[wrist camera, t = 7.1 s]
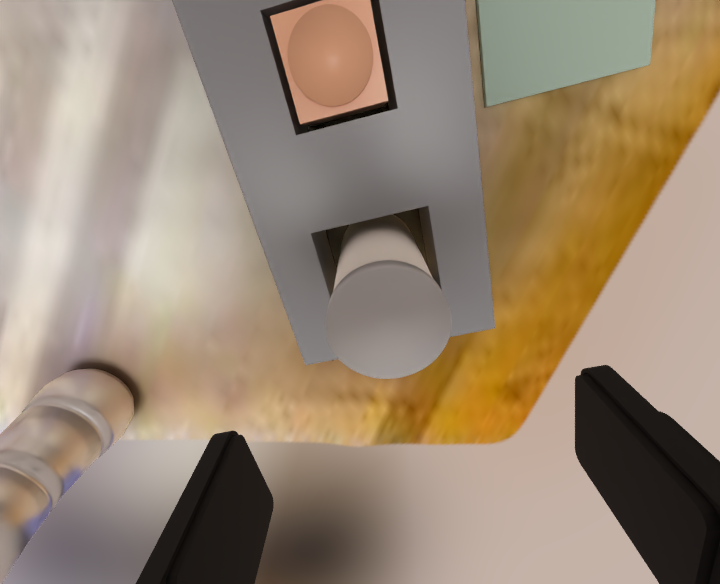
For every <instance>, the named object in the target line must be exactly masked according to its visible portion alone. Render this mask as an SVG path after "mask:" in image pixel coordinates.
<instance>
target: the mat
mask: <svg viewBox="0 0 720 584" xmlns="http://www.w3.org/2000/svg"><path fill="white" fill-rule="evenodd" d="M655 1H656V0H476V8H477V20H478V33H479V45H480V57H481V69H482V81H483V93H484V106H485V107H489V106H492V105H496V104H500V103H504V102H508V101H512V100H516V99H519V98H523V97H527V96H531V95H535V94H539V93H543V92H547V91H550V90H554V89H558V88H562V87H566V86H570V85H574V84H577V83H581V82H585V81H589V80H593V79H597V78H601V77H604V76H608V75H612V74H616V73H620V72H624V71H628V70H631V69H635V68H639V67H643V66H647V65H650V59H651V47H652V36H653V24H654V12H655Z"/></svg>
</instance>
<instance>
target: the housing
mask: <svg viewBox="0 0 720 584" xmlns="http://www.w3.org/2000/svg"><path fill="white" fill-rule="evenodd" d="M172 1H173V4H174V7H175V10H176V12H177V15H178V18H179V21H180V23H181V26H182V29H183V32H184V34H185V37H186V40H187V42H188V45H189V48H190V51H191V53H192V56H193V59H194V62H195V64H196V67H197V70H198V73H199V75H200V78H201V81H202V83H203V86H204V89H205V92H206V94H207V97H208V100H209V103H210V105H211V108H212V111H213V114H214V116H215V119H216V122H217V124H218V127H219V130H220V133H221V135H222V138H223V141H224V144H225V146H226V149H227V152H228V155H229V157H230V160H231V163H232V165H233V168H234V171H235V174H236V176H237V179H238V182H239V185H240V187H241V190H242V193H243V196H244V198H245V201H246V204H247V206H248V209H249V212H250V215H251V217H252V220H253V223H254V226H255V228H256V231H257V234H258V237H259V239H260V242H261V245H262V248H263V250H264V253H265V256H266V258H267V261H268V264H269V267H270V269H271V272H272V275H273V278H274V280H275V283H276V286H277V289H278V291H279V294H280V297H281V299H282V302H283V305H284V308H285V310H286V313H287V316H288V319H289V321H290V324H291V327H292V330H293V332H294V335H295V338H296V340H297V343H298V346H299V349H300V351H301V354H302V357H303V360H304V362H305V365H309V364H314V363H319V362H325V361H330V360H335V359H338V358H337V356H336V355H335V354H334V352H333V351H332V349H331V347H330V345H329V343H328V340H327V336H326V329H325V322H326V315H327V310H328V305H329V300H330V298H331V295H332V293H333V289H334V284H335V278H336V273H337V270H336V266H335V263H334V259H333V256H332V252H331V249H330V245H329V242H328V238H327V235H326V231H325V230H327V229H331V228H336V227H340V226H344V225H348V224H353V223H357V222H361V221H365V220H370V219H374V218H378V217H383V216H387V215H391V214H395V213H400V212H404V211H408V210H412V209H417V208H418V210H419V215H420V221H421V227H422V233H423V239H424V245H425V251H426V257H427V263H428V269H429V271H430V273H431V275H432V277H433V279H434V280H435V281H436V283H437V284H438V285H439V287H440V289H441V290H442V292H443V294H444V296H445V298H446V300H447V303H448V305H449V308H450V312H451V319H452V325H451V332H450V337H452V336H457V335H462V334H467V333H472V332H477V331H483V330H488V329H493V328H495V321H494V310H493V299H492V289H491V278H490V267H489V256H488V245H487V234H486V224H485V213H484V202H483V191H482V180H481V169H480V159H479V148H478V137H477V126H476V115H475V104H474V94H473V83H472V72H471V61H470V50H469V39H468V29H467V18H466V7H465V0H370V1H371V7H372V13H373V18H374V24H375V29H376V35H377V40H378V46H379V51H380V57H381V62H382V68H383V73H384V79H385V85H386V90H387V96H388V104H389V109H390V111H386V112H382V113H378V114H375V115H371V116H367V117H363V118H360V119H356V120H352V121H348V122H344V123H341V124H337V125H333V126H329V127H326V128H322V129H318V130H314V131H310V132H309V129H308V126H307V125H303V124H300V122H299V119H298V115H297V111H296V108H295V104H294V101H293V97H292V94H291V90H290V86H289V83H288V79H287V76H286V72H285V68H284V65H283V61H282V58H281V54H280V50H279V47H278V43H277V40H276V36H275V32H274V29H273V25H272V22H271V18H270V16H272V15H275V14H279V13H282V12H285V11H289V10H292V9H295V8H299V7H302V6H305V5H308V4H312V3H315V2H318V1H322V0H172Z"/></svg>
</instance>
